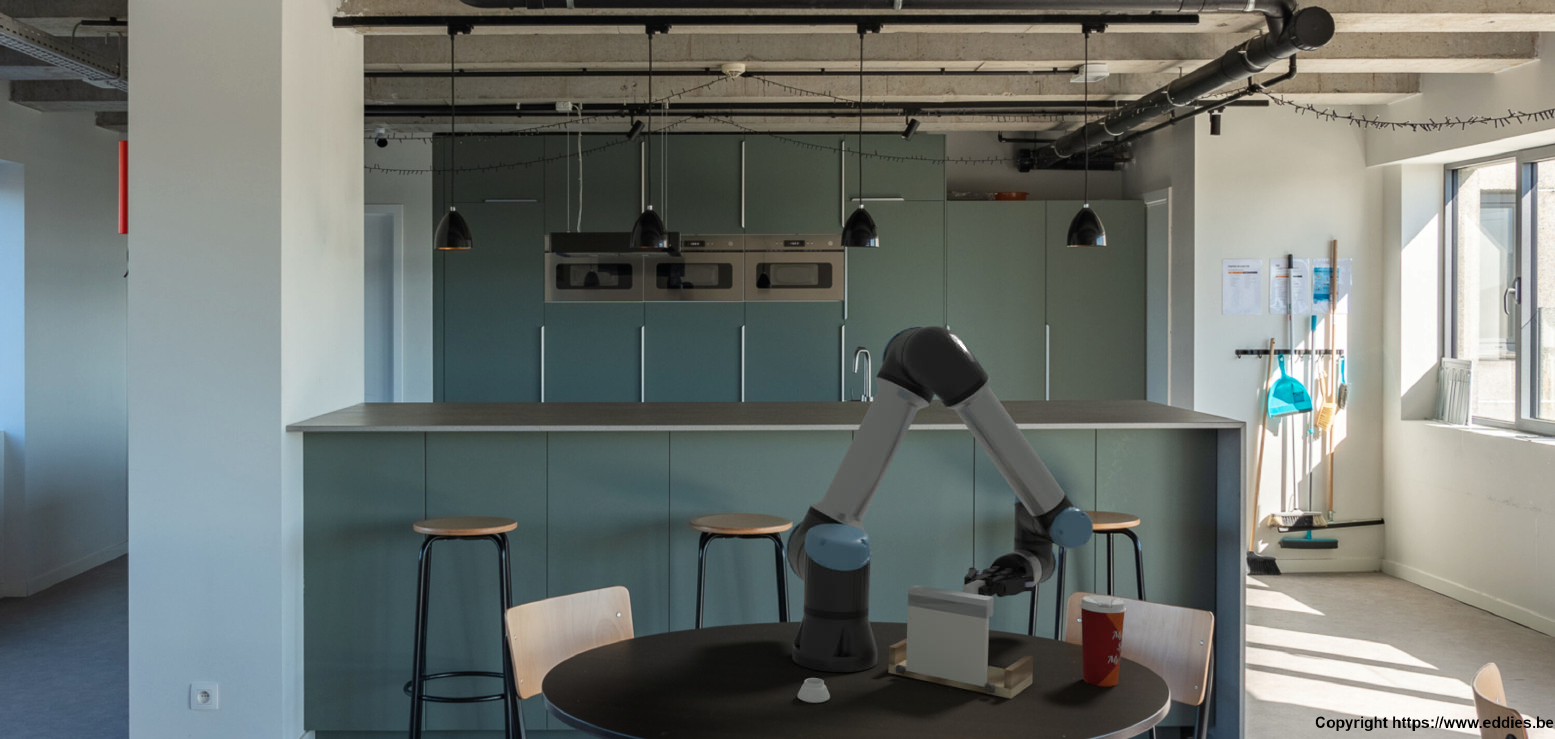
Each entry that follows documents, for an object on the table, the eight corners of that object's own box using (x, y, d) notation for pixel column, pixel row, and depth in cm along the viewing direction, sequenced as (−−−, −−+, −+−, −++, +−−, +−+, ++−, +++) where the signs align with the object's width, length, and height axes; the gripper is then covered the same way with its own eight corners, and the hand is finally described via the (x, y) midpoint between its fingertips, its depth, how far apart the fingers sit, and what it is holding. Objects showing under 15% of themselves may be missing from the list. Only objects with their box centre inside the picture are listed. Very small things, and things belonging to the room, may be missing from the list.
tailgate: (905, 670, 175) (908, 587, 175) (913, 666, 178) (916, 584, 177) (984, 686, 167) (986, 600, 167) (991, 682, 170) (993, 597, 170)
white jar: (794, 695, 166) (801, 705, 161) (795, 676, 166) (802, 686, 161) (825, 693, 167) (832, 704, 162) (825, 675, 167) (833, 685, 162)
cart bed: (882, 675, 177) (883, 649, 177) (913, 659, 187) (914, 634, 187) (1006, 702, 165) (1006, 674, 165) (1032, 683, 175) (1033, 656, 175)
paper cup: (1127, 690, 172) (1129, 606, 172) (1079, 686, 174) (1081, 603, 174) (1121, 676, 180) (1123, 596, 180) (1075, 672, 182) (1077, 593, 181)
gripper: (1048, 597, 194) (1002, 622, 175) (982, 587, 201) (931, 610, 182) (1049, 557, 194) (1003, 577, 174) (983, 548, 201) (932, 567, 182)
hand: (966, 594), depth 178 cm, fingers closed
